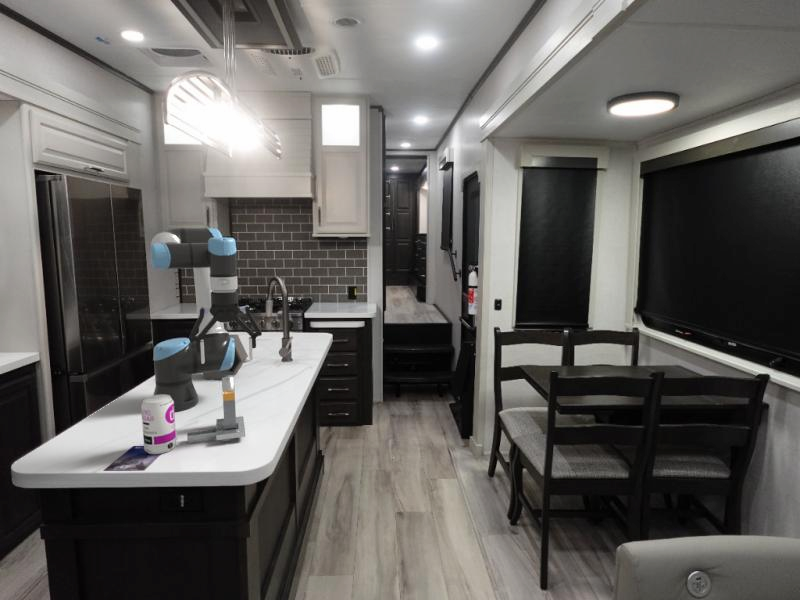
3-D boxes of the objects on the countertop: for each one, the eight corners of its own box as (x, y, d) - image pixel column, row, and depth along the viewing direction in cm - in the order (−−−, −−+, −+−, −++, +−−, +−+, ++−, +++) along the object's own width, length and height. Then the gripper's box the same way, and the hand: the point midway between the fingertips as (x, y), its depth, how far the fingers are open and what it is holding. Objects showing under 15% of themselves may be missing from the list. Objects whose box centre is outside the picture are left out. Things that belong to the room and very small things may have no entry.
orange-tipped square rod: (225, 439, 144) (222, 394, 142) (224, 434, 147) (222, 391, 145) (236, 437, 146) (234, 393, 143) (236, 433, 149) (234, 389, 146)
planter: (188, 368, 200) (213, 327, 197) (196, 362, 208) (220, 323, 205) (223, 390, 201) (248, 350, 198) (230, 384, 209) (254, 345, 206)
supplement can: (181, 442, 142) (178, 393, 140) (168, 455, 134) (165, 403, 132) (153, 442, 142) (149, 393, 140) (139, 455, 134) (135, 403, 132)
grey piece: (186, 449, 138) (183, 395, 135) (190, 426, 154) (187, 377, 151) (245, 441, 143) (243, 389, 141) (242, 419, 159) (240, 372, 157)
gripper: (176, 294, 134) (181, 367, 137) (269, 290, 142) (271, 360, 146) (178, 290, 141) (183, 360, 144) (267, 287, 149) (269, 353, 152)
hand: (227, 360), depth 145 cm, fingers open, 13 cm apart
